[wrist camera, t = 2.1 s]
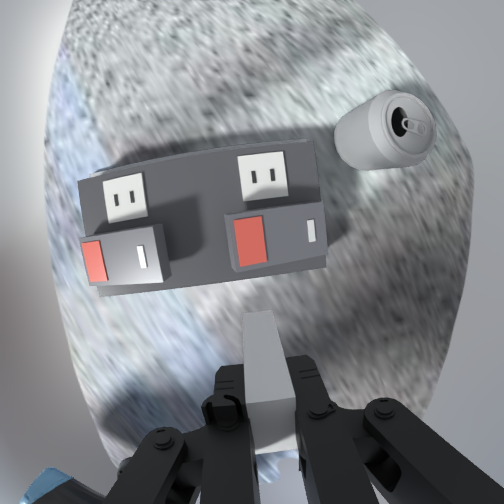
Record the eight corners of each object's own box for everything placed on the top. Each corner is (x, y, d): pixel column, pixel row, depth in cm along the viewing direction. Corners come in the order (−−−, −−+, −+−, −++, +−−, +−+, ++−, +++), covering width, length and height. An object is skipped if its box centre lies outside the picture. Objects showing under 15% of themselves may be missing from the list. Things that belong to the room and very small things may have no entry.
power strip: (318, 263, 35) (332, 276, 30) (113, 291, 35) (97, 306, 29) (305, 139, 32) (317, 131, 27) (92, 174, 31) (71, 173, 26)
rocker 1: (171, 275, 27) (162, 283, 25) (100, 280, 29) (88, 286, 27) (162, 223, 26) (151, 227, 24) (90, 235, 28) (77, 239, 26)
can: (335, 105, 31) (379, 72, 20) (388, 123, 32) (444, 103, 20) (326, 162, 33) (371, 151, 21) (380, 177, 34) (439, 176, 22)
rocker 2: (318, 250, 30) (328, 254, 27) (231, 267, 27) (236, 273, 25) (313, 201, 28) (324, 201, 26) (223, 213, 26) (228, 215, 24)
